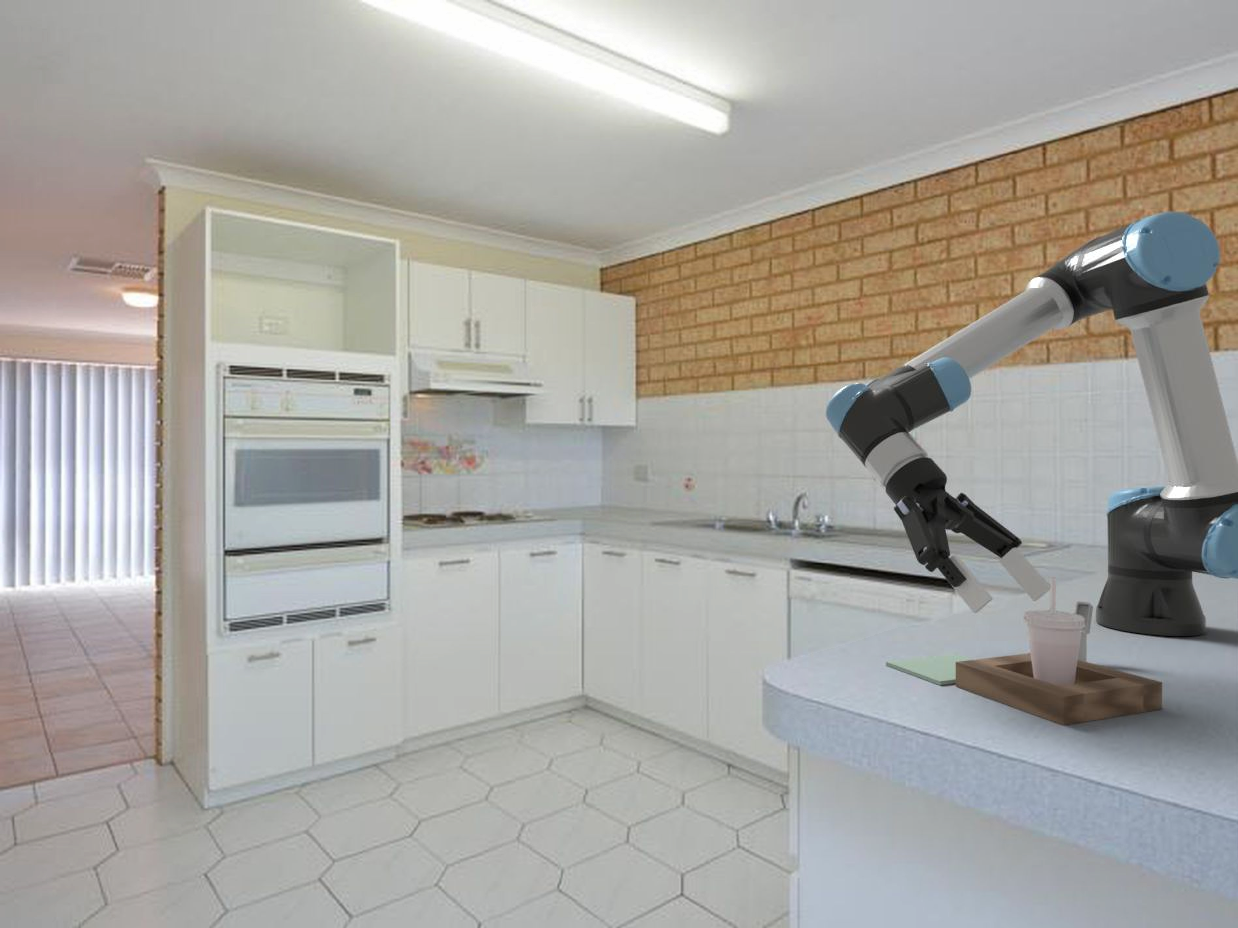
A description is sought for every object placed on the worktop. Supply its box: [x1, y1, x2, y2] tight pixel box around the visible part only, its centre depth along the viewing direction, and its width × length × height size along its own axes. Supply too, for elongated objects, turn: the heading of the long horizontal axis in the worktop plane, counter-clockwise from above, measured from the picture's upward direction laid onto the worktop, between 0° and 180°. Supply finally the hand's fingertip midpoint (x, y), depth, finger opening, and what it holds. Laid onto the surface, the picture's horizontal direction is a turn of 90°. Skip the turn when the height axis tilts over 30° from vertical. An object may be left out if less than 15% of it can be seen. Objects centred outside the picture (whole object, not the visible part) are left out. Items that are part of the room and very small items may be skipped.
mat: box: [885, 653, 975, 686], centre depth 103 cm, size 12×10×1 cm
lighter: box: [1074, 601, 1094, 662], centre depth 107 cm, size 7×2×8 cm, turn 134°
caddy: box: [955, 652, 1163, 726], centre depth 91 cm, size 15×15×3 cm
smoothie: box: [1023, 576, 1085, 686], centre depth 91 cm, size 6×6×14 cm
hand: (1014, 600), depth 94 cm, fingers open, 13 cm apart
